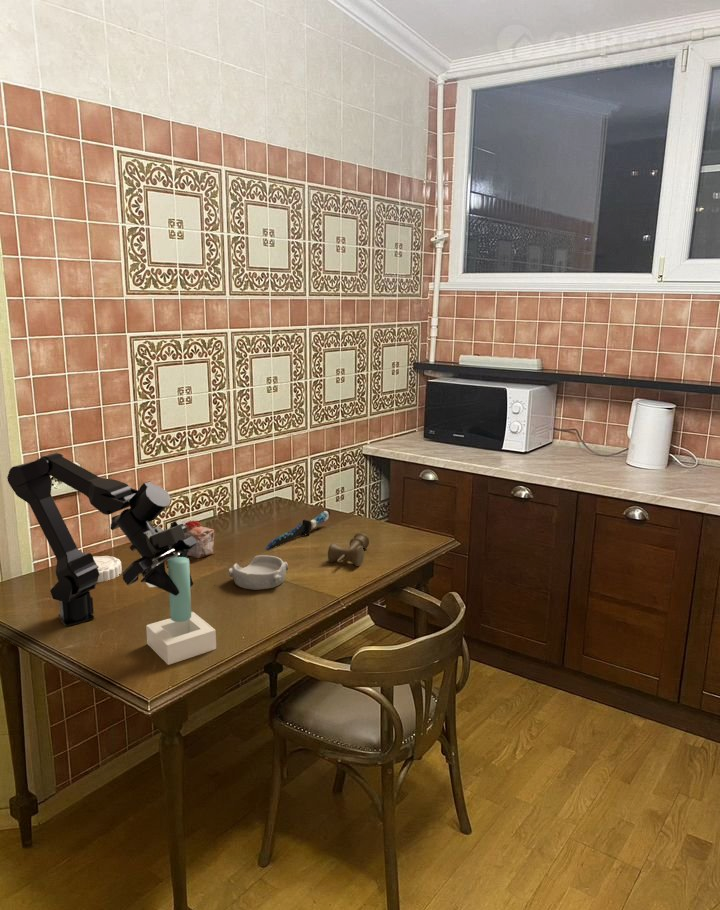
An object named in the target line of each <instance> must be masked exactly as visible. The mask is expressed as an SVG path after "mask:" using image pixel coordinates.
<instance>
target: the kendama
mask: <svg viewBox="0 0 720 910" xmlns="http://www.w3.org/2000/svg"><path fill="white" fill-rule="evenodd" d="M369 545H370V538H369V536H368V535H367V534H366V533H363V532H358V533H356V534H355V535H354V536H353V538H351V539H350V540H349V547H348V548H344V547H341V546H339V545H338V544H336V543H335V542H332V543H331V544H330V545H329V546H328V549H327V550H328V551H327V559H328V562H330V563H334V562H337V563H339V562H341V561H348V562H350V563H352V564H353V565H354V566H356V567H357V566H359V567H361V566H360V565H362V564H363V561H364V558H365V549H367V548H368V547H369ZM363 548H365V549H363Z"/></svg>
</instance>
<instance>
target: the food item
mask: <svg viewBox="0 0 720 910" xmlns="http://www.w3.org/2000/svg"><path fill="white" fill-rule="evenodd" d="M181 521H182V522H183V523H184V524H185V525H186V527H187V532H186V533H184V534H185V536H186V535H191V536H193V537H194V539H195V540H196V541H197V544H196V545H195V546H194V547H193V548H192V549H191V550H190V551H189V553H187V557H189V556H190V557H193V558H194V557H195V558H197V559H201V558H204V557H207V556H210V555H213V554H214V542H215V539H214V538H215V528H214V529H213V528H209V527H206V526H202V523H201V522H199V521H198V520H191V519H190V520H189V521H186V520H181ZM169 528H171V525H170V527H169Z"/></svg>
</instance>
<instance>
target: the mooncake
mask: <svg viewBox="0 0 720 910" xmlns="http://www.w3.org/2000/svg"><path fill="white" fill-rule="evenodd" d="M93 559H94V561H95V563H96V564H97V566H98V567H99V568H97V569H98V571H99V576H98V581H97V583H103V582H109V581H110V580H115V578H118V577H119V576H120V575H121V574H122V571H123V570H122V569H123V568H122V561H121V560H120V559H119V558H117V557H115V556H111V555H110V556H109V555H102V556H95V555H94V556H93ZM119 574H120V575H119ZM108 580H109V581H108Z"/></svg>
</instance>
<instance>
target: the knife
mask: <svg viewBox="0 0 720 910" xmlns="http://www.w3.org/2000/svg"><path fill="white" fill-rule="evenodd" d="M330 515H331V511H330V509H325V510H324V511H322V512H321V513H320V514H319V515H317V516H316V517H314V518H313V519H311V520H308V519H303V520H302V522H300V523H299V524H298V525H297V526H296V527H294V528H292V529H291V530H289V531H288V532H286V533H283V534H281V535H278V536H277V537H275V538H273V540H272V541H270V542H269V543H268V544H267V545H266V547H265V550H272V549H274V548H273V547H275V546H277V547H279V546H281V545H280V544H282V545H284V544H286V543H288V542H289V541H291V540H293V539H295V538H297V537H298V536H300V535H301V534H302V533H303V534H302V535H305V534H306V535H305V536H310V534H311V530H313V529H314V528H315V527H316V528H317V526H319V525H320V524H322V523H324V522H326V521H327V520H328V519H329V517H330ZM283 543H284V544H283ZM278 545H279V546H278ZM271 548H272V549H271ZM275 548H276V547H275Z"/></svg>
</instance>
